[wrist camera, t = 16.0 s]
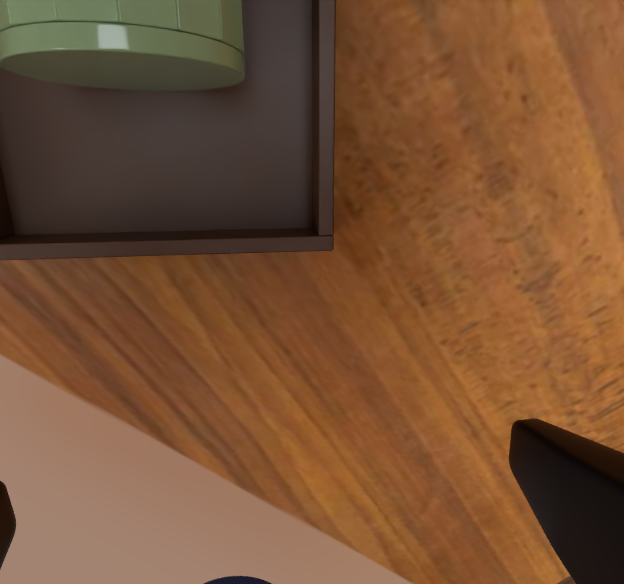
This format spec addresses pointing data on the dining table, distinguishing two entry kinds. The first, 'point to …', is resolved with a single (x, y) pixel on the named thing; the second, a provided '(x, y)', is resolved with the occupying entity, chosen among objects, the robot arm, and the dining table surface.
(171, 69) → the cup
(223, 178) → the tray
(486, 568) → the dining table surface
